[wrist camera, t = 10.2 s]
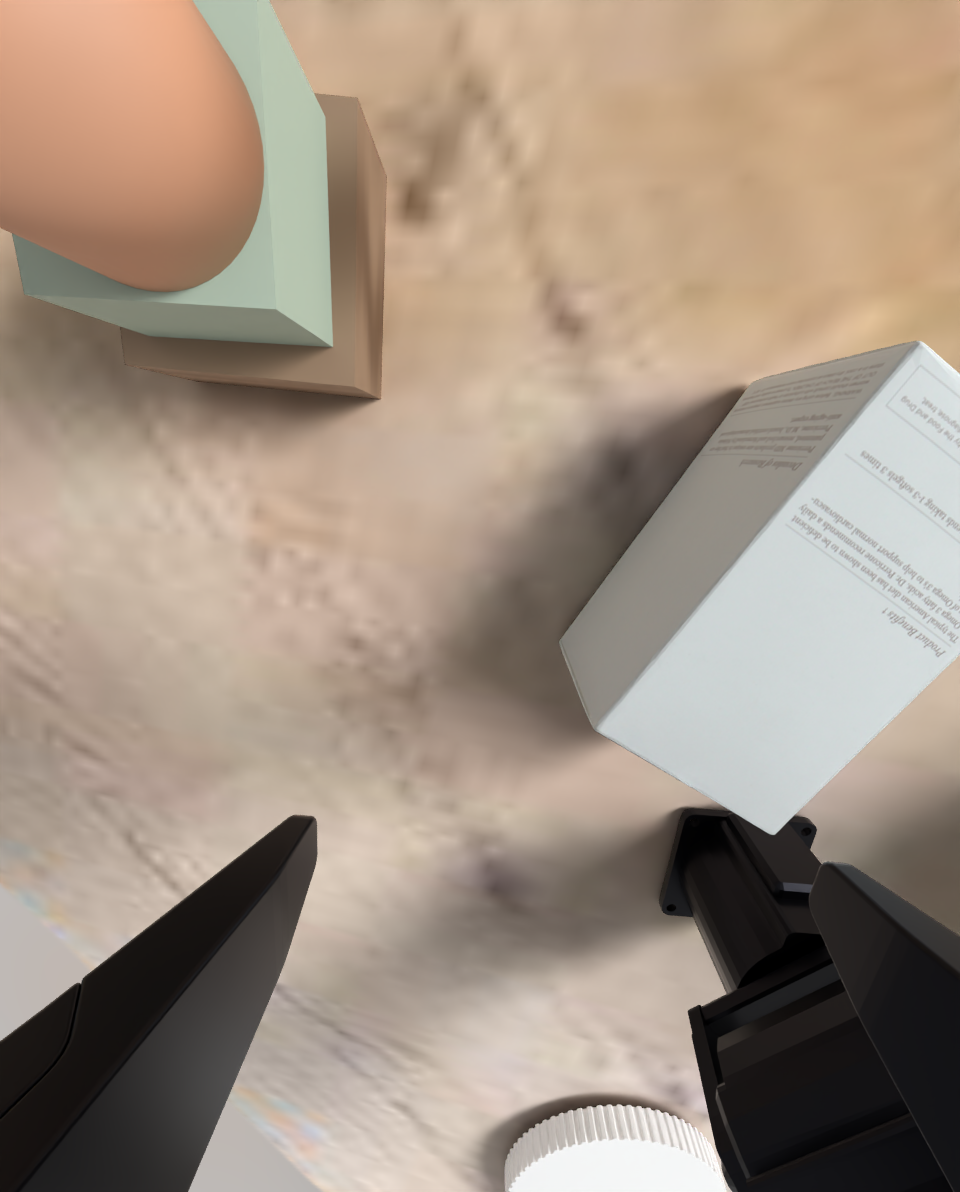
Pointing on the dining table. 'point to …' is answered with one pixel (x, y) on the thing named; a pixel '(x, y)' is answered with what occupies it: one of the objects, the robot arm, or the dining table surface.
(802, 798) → the supplement box
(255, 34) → the top block
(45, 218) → the brown oval piece
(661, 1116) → the plastic lid
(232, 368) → the bottom block
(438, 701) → the dining table surface
